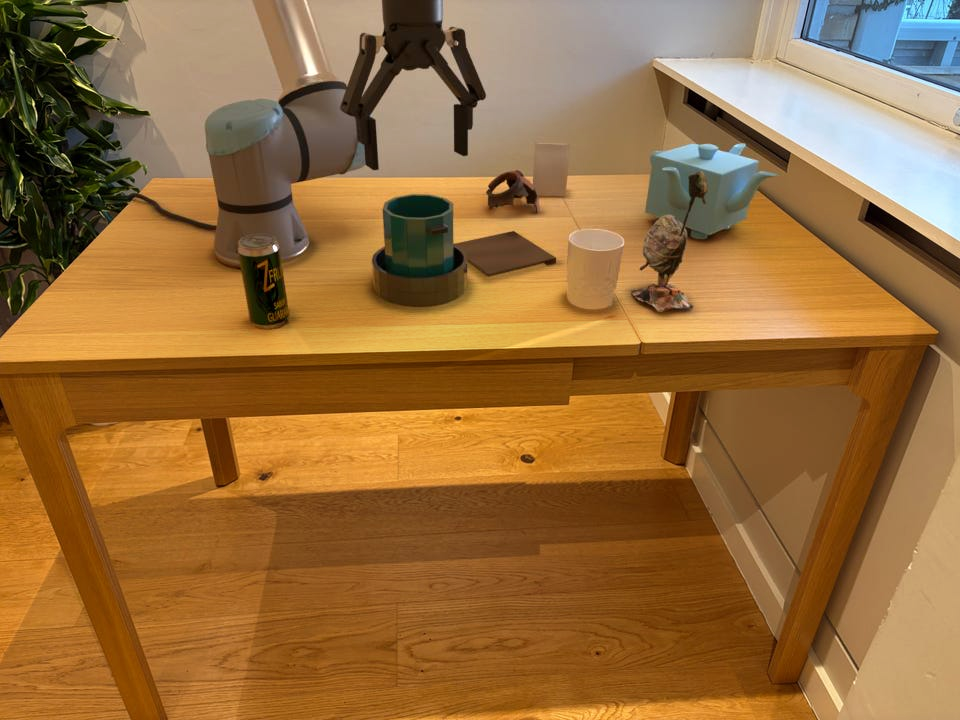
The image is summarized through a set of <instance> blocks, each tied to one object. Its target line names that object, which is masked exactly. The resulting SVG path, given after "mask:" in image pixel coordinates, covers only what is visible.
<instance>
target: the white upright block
mask: <svg viewBox="0 0 960 720" xmlns="http://www.w3.org/2000/svg"><path fill="white" fill-rule="evenodd" d="M569 158H570V143H549V142H534V155H533V169H532V171H533V172H532V185H533V186H534V189H535V190H536V192H537V196H538V197H557V198H558V197H560V198H561V197H562V198H566V197H567V188H568V187H567V186H568V176H569V160H570V159H569Z"/></svg>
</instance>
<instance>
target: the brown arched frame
mask: <svg viewBox="0 0 960 720" xmlns="http://www.w3.org/2000/svg"><path fill="white" fill-rule="evenodd" d="M505 182H506V185H507V186H508V188H507V189H506V190H504V191H502V192H499V193H493V192H494V191H495V189H496V188H497V187H498V186H500V185H501V184H502V183H505ZM487 187H488V189H487V190H486V191H485V194H486V196H487V206H488V208H489V209H490V210H491V209H493V208H496V209H497V208H499V207H500V208H501V207H502V208H503V207H505V206H511V207H515V199H518V200H519V199H523V197H524V198H525V201H526V202H525V203H526V205H533V206H534V209H535V213H536V214H539V213H540V208H541V206H540V202H539V201H540V200H539V196H537V192H536V190H535V189H534V186H533V182H531V181H530V179H528V178H526V177H525V176H524V173H522V171H521V170H519V169H516V170H510V171H506V172H503V173H501V174H499V175H498V176H496V177H494V178H493V179H492V180H491V181H490V182H489V184H488V186H487Z"/></svg>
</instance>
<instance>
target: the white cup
mask: <svg viewBox="0 0 960 720" xmlns="http://www.w3.org/2000/svg"><path fill="white" fill-rule="evenodd" d="M567 237H568V238H567V261H566V262H567V263H566V283H567V287H566V288H567V289H566V299H567V301H568V302H569V303H570V304H571V305H573V306H575V307H577V308H581V309H585V310H601V309H606V308H608V307H609V308H611V307H612V305H613V300H614V295H615V291H616V288H617V283H618V280H619V279H618V278H619V273H620V270H621V263H622V259H623V253H624V248H625V239H624V237H623V236H622V235H620V234H618V233H616V232H614V231H610V230H606V229H602V228H581V229H578V230H575V231H572V232H571V233H570V234H569V235H568V236H567Z"/></svg>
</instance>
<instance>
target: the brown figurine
mask: <svg viewBox="0 0 960 720" xmlns="http://www.w3.org/2000/svg"><path fill="white" fill-rule="evenodd" d="M688 179H689V196H690V197H691V199H690V202H689V209H688V212H687V214H686V217H685V220H684V223H683V224H681V222H680V221H678V220H677V219H676V218H675V217H674V216H673V215H669V214H667V215H664V216H661V218H659V217H658V220H656V221H655V223H654V224H653V225H651V227H650V229H649V230H648V232H647V234H646V236H645V238H644V241H643V242H644V243H643V246H642V254H643V257H644V258H645V260H646V261H645V263H644V264H643V265H641V266H640V267H639V271H643V270H644V269H646V268H647V267H649V268H651V269H652V270H654V271H655V272H657V273H658V274H657V284H655V283H653V284H649V285H647V287H646V288H638V289H633V290H630V294H631V295H633V296H634V297H635V298H634V299H637V300H638V301H639V302H640V301H641V302H643V303H647V305H650V306H652V307H653V308H655V310H656V312H659V313H662V312H664V311H668V310H669V309H670V310H671V309H680V310H682V309H685V308H686V309H688V310H692V309H693V308H694V305H693V304H692V303H690V301H689V300H688V297H687V295H686V294H685V293H684V292H682V291H681V289H680V288H679V287H677V286H676V285H674V284H671V283H669V282H670V280H671V279H672V276H674V274H675V273H676V271H677V270H678V269H679V268H680V265H681V264H682V262H683V256H684V252H685V250H686V246H687V242H688V230H686V227H685V224H686V221H687V218H688V214H689V212H690V210H691V207H692V205H693V202H694V199H695V198H696V197H699V198H702V202H703V203H704V204H706V202H705V194H706V193H707V191H708V185H707V183H706V178H705V177H704V173H703V172H702V171H699V172H697V173H694V174H691V175H690V176H689V177H688ZM672 212H673V211H672ZM673 213H676V212H673Z"/></svg>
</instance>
